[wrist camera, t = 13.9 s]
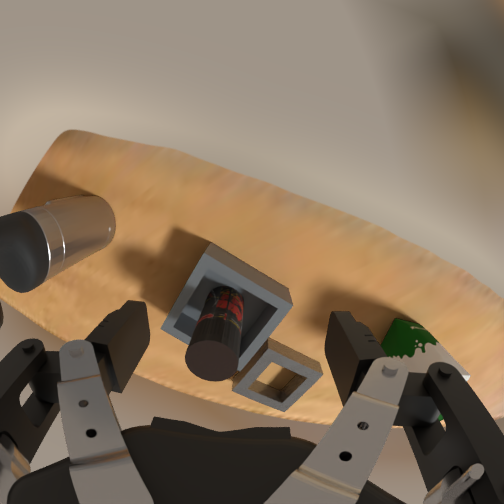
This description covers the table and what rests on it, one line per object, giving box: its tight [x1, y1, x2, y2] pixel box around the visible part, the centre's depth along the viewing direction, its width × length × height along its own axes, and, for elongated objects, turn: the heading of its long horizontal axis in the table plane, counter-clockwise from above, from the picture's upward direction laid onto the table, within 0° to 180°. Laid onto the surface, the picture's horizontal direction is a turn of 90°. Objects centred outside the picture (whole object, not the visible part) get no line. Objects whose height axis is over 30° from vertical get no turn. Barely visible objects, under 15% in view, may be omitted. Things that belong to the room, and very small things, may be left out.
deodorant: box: [185, 286, 244, 381], centre depth 36 cm, size 6×6×15 cm
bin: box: [161, 242, 293, 371], centre depth 41 cm, size 14×14×6 cm
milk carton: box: [380, 318, 471, 421], centre depth 36 cm, size 9×9×20 cm
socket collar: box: [232, 337, 323, 412], centre depth 46 cm, size 12×12×4 cm
